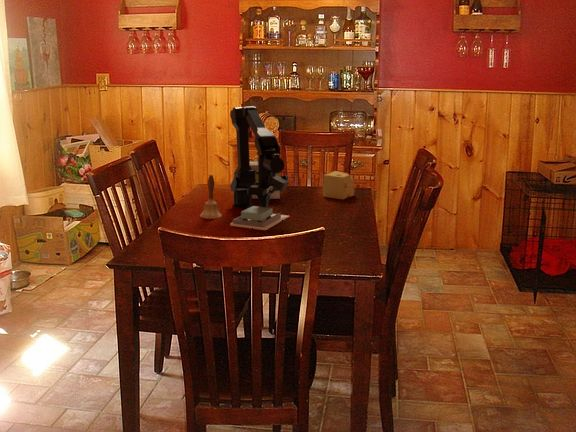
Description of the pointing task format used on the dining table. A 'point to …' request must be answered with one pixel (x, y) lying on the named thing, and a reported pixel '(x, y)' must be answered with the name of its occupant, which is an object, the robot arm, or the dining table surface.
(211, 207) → the hand bell
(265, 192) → the robot arm
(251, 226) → the dock
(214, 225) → the dining table surface
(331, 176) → the cheese
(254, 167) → the tea box
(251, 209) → the sage green box
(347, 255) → the dining table surface
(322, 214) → the dining table surface
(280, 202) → the dining table surface
